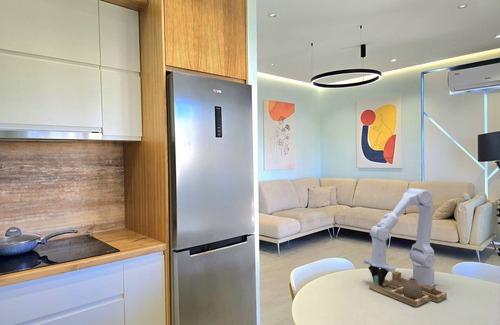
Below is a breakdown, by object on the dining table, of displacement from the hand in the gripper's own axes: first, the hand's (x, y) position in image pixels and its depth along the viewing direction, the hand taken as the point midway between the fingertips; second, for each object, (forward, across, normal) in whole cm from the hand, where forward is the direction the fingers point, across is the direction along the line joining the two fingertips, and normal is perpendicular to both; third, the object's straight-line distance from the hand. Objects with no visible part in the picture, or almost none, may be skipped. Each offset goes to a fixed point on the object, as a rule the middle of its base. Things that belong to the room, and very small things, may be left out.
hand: (378, 283), depth 139 cm
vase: (+2, +16, 0) cm, 16 cm away
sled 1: (+2, +9, 0) cm, 10 cm away
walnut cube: (+2, +17, +10) cm, 19 cm away
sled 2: (+2, +12, +10) cm, 16 cm away
